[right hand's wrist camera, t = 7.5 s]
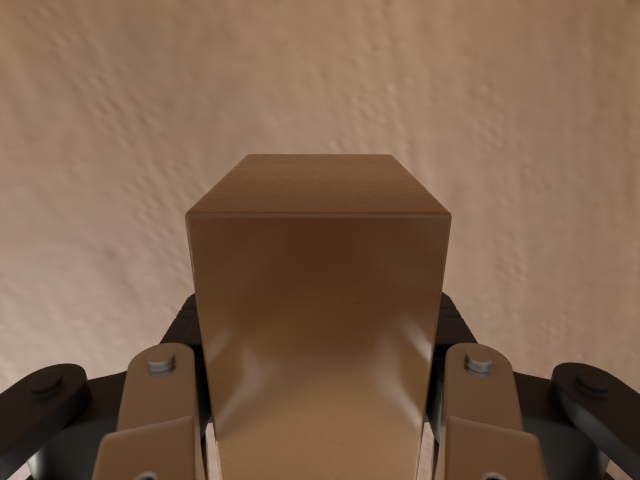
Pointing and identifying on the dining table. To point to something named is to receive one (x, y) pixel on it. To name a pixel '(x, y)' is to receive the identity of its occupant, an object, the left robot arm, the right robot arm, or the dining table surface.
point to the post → (318, 314)
